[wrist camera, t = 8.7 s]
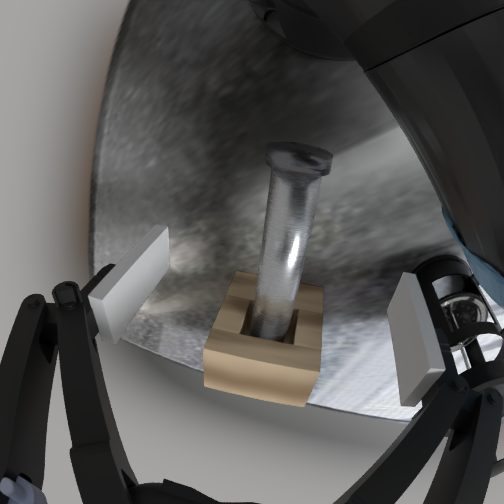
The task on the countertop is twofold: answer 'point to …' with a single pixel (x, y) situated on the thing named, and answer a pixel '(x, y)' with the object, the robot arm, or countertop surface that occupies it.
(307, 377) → the housing
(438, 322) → the french press
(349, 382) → the countertop surface
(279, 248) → the shaft
